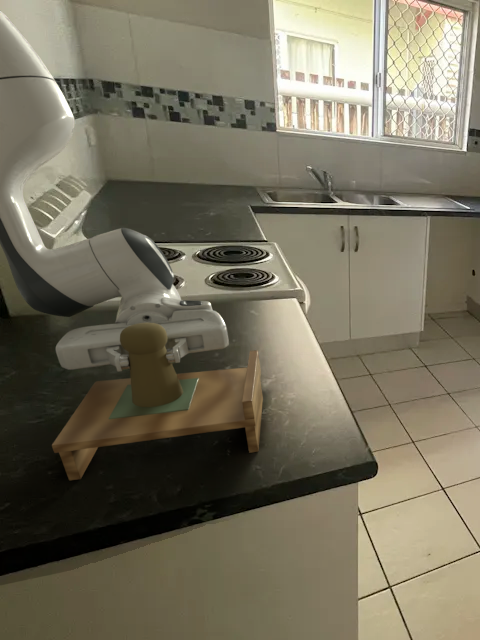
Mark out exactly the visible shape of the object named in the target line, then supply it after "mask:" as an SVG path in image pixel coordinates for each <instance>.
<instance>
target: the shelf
mask: <svg viewBox="0 0 480 640" xmlns="http://www.w3.org/2000/svg"><path fill="white" fill-rule="evenodd" d="M259 354H260V353H259V350H258V349H256V350H249V354H248V360H247V367H238V368H225V369H214V370H204V371H193V372H182V373H176V375H177V377H178V380H179V382H180V384H181V387H182V389H183V394H182V395H181V396H180V397H179V398H178V399H177V400H175V401H173V402H171V403H168V404H165V405H161V406H156V407H140V406H137V405H135V404H134V403H132V390H131V378H130V377H128V378H119V379H108V380H107V379H106V380H96V381H94V383H93V384H92V386H91V387H90V389H89V390H88V391H87V393H86V395H85V396H84V398H83V399H82V401H81V402H80V404H79V405H78V406H77V408H76V409H75V411H74V412H73V414H72V415H71V417H70V418H69V419H68V420H67V422H66V423H65V425H64V426H63V428H62V430H61V431H60V433H59V434H58V435H57V437H56V438H55V440H54V441H53V442H52V444H51V448H52V450H53V453H54V454H59V456H60V459H61V462H62V465H63V467H64V470H65V473H66V476H67V478H68V481H77V480H81V479H82V477H83V476H84V474H85V472H86V470H87V469H88V466H89V465H90V463H91V462H92V459H93V457H94V456H95V454H96V452H97V450H98V448H101V447H109V446H117V445H124V444H125V445H126V444H133V443H138V442H146V441H147V442H148V441H154V440H155V441H156V440H161V439H168V438H169V439H170V438H177V437H183V436H191V435H198V434H199V435H200V434H205V433H213V432H221V431H227V430H235V429H243V428H244V430H245V435H246V441H247V448H248V453H250V454H252V453H258V452H259V451H260V450H259V449H260V439H261V438H260V437H261V425H262V412H263V402H264V401H263V400H264V397H263V390H262V382H261V375H262V369H261V362H260V356H259Z"/></svg>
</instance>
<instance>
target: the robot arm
mask: <svg viewBox="0 0 480 640" xmlns="http://www.w3.org/2000/svg"><path fill="white" fill-rule="evenodd" d="M75 120H76V119H75V116H74V114H73V111H72V110H71V107H70V104H69V103H68V101H67V99H66V97H65V95H64V93H63V92H62V90H61V89H60V86H59V85H58V83H57V82H56V80H55V78H54V77H53V75H52V73H51V72H50V71H49V68H48V67H47V65H46V64H45V62H44V61H43V60H42V58H41V56H40V55H39V54H38V53H37V51H36V50H35V49H34V48H33V46H32V45H31V43H30V42H29V41H28V40H27V38H26V37H25V36H24V35H23V33H22V32H21V30H19V28H18V27H17V26H16V25H15V24H14V23H13V22H12V20H11V19H10V18H9V17H8V15H6V13H4V12H3V11H2V10H0V246H1V250H2V251H3V253H4V255H5V258H6V261H7V263H8V266H9V269H10V272H11V275H12V278H13V281H14V283H15V285H16V288H17V290H18V292H19V294H20V296H21V297H22V299H23V300H24V301H25V302H26V303H27V304H28V306H29V307H31V308H32V309H33V310H34V311H37V312H39V313H43V314H46V315H51V316H57V317H64V318H71V317H73V316H76V315H78V314H80V313H82V312H84V311H86V310H88V309H91V308H93V307H94V306H97V305H99V304H102V303H104V302H107V301H110V300H112V299H116V298H118V297H120V300H119V304H118V310H117V312H116V317H115V322H114V323H108V324H99V325H89V326H82V327H77V328H74V329H70V330H69V331H68V332H66V333H65V334H64V335H63V336H62V337H61V338H60V339H59V341H58V342H57V344H55V345H56V346H55V353H56V357H57V360H58V363H59V365H60V367H61V368H62V369H64V370H69V371H73V370H80V369H87V368H94V367H101V366H103V367H104V366H109V365H110V366H113V367H115V368H116V371H117V372H124V371H130V370H131V368H130V365H129V353H128V351H126V350H125V349H124V348H123V347H122V345H121V343H120V334H121V332H122V330H123V329H125V328H126V327H128V326H131V325H134V324H138V323H156V324H159V325H161V326H162V327H163V328H164V329H165V330H166V333H167V343H166V345H165V348H166V351H167V352H166V358H167V359H168V363H169V364H172V365H173V364H179V363H181V359H182V358H184V357H185V356H187V355H188V354H193V353H195V354H196V353H200V352H207V351H216V350H223V349H225V348H227V347H228V346H229V345H230V341H229V333H228V328H227V325H226V323H225V320H224V319H223V317H222V316H221V314H220V313H219V312H217V311H216V310H213V307H212V303H211V302H210V301H208V300H207V301H206V300H187V299H186V300H185V299H184V300H183V299H182V297H181V295H180V293H179V291H178V290H177V288H176V286H175V285H174V279H175V275H174V271H173V268H172V266H171V264H170V263H169V261H168V258H167V257H166V256H165V254H164V252H163V251H162V249H161V248H160V247H159V246H158V245H157V243H155V241H154V240H153V239H152V238H150V237H149V236H147V235H145V234H143V233H141V232H139V231H136V230H134V229H131V228H127V227H121V228H117V229H114V230H110V231H107V232H104V233H100V234H97V235H94V236H90V237H89V238H86V239H83V240H80V241H76V242H73V243H69V244H66V245H63V246H60V247H57V248H47V247H46V246H45V244H44V241H43V239H42V237H41V234H40V232H39V231H38V228H37V226H36V224H35V222H34V219H33V217H32V214H31V212H30V210H29V208H28V206H27V203H26V201H25V199H24V198H25V197H24V189H25V185H26V183H27V182H28V180H29V179H30V178H31V176H32V175H33V174H35V172H36V171H38V170H39V169H40V168H41V167H43V166H44V165H45V164H47V163H48V162H50V161H51V160H52V159H54V158H55V157H57V155H59V154H60V153H61V152H62V151H63V150H65V148H67V146H68V144H70V141H71V140H72V138H73V135H74V133H75V126H76V121H75Z"/></svg>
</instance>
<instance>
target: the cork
mask: <svg viewBox="0 0 480 640" xmlns="http://www.w3.org/2000/svg"><path fill="white" fill-rule="evenodd" d="M120 343H121V345H122V347H123V348H124V349H125V350H126V351H128V353H129V365H130V368H131V370H129V378H131V390H132V403H134V404H135V405H137V406H140V407H156V406H161V405H165V404H168V403H171V402H173V401H175V400H177V399H178V398H179V397H180V396H181V395H182V394H183V389H182V387H181V384H180V382H179V380H178V377H177V375H176V374H177V372H176V370H175V368H174V365H173V364H169V363H168V359H167V358H166V352H167V351H166V348H165V345H166V343H167V333H166V330H165V329H164V328H163V327H162V326H161V325H159V324H156V323H138V324H134V325H131V326H128V327H126V328H125V329H123V330H122V332H121V334H120Z"/></svg>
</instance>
